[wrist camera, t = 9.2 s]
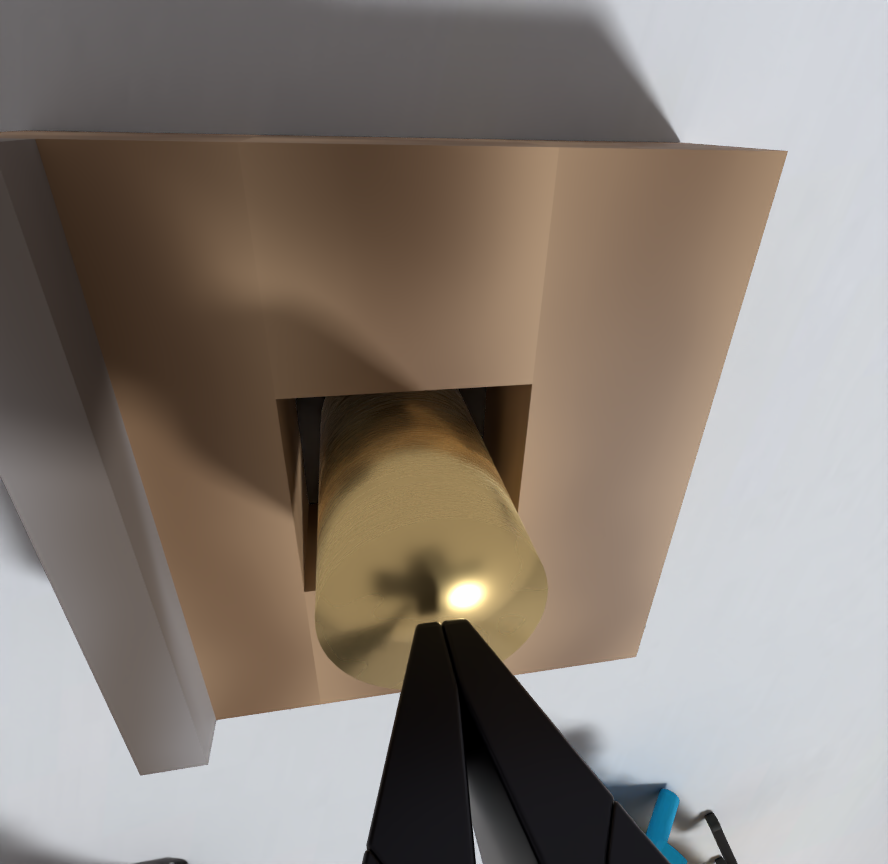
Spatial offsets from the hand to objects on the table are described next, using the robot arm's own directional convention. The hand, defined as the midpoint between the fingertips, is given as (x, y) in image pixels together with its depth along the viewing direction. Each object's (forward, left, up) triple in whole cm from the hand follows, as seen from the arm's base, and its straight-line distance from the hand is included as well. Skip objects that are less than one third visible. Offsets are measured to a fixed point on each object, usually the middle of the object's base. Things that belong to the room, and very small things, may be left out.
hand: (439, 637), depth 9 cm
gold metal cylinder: (0, 0, -7) cm, 7 cm away
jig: (0, 0, -7) cm, 7 cm away
